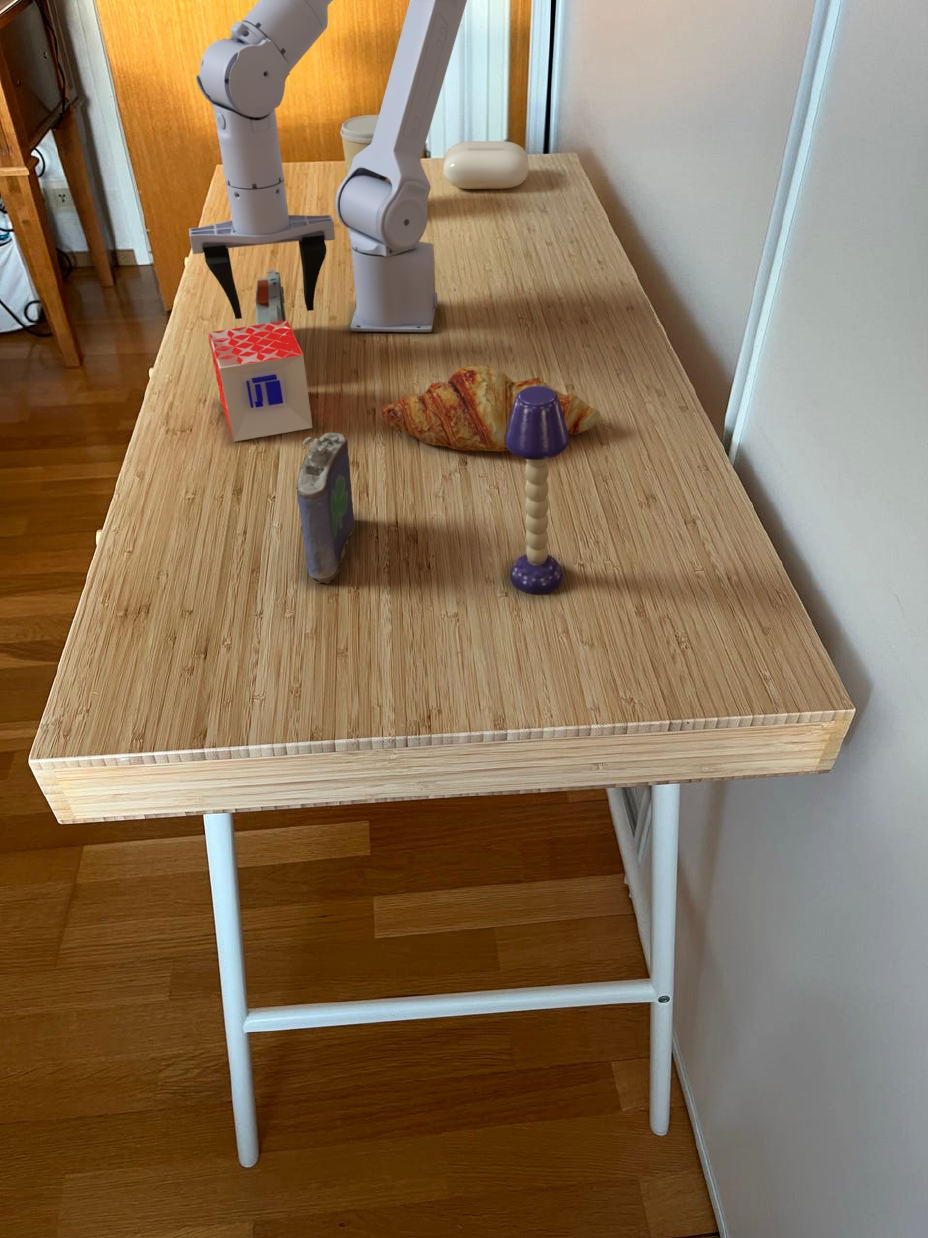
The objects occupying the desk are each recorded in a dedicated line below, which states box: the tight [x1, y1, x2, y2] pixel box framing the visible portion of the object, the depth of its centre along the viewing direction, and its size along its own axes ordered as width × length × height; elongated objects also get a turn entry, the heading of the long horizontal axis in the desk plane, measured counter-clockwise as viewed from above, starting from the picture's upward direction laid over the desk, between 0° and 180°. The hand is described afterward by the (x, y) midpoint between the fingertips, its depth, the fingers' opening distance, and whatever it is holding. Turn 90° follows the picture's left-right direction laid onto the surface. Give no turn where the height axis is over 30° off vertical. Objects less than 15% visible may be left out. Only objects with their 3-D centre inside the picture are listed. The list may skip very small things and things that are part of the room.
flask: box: [295, 432, 356, 584], centre depth 80 cm, size 9×3×11 cm, turn 172°
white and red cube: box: [207, 320, 314, 443], centre depth 98 cm, size 8×8×8 cm
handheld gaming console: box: [255, 269, 287, 325], centre depth 108 cm, size 14×3×8 cm, turn 9°
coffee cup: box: [339, 114, 391, 183], centre depth 140 cm, size 9×9×12 cm
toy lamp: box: [505, 386, 570, 595], centre depth 75 cm, size 5×5×17 cm
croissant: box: [381, 365, 601, 452], centre depth 96 cm, size 21×10×8 cm, turn 92°
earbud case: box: [442, 140, 530, 190], centre depth 151 cm, size 10×13×5 cm
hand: (274, 310), depth 107 cm, fingers open, 7 cm apart
